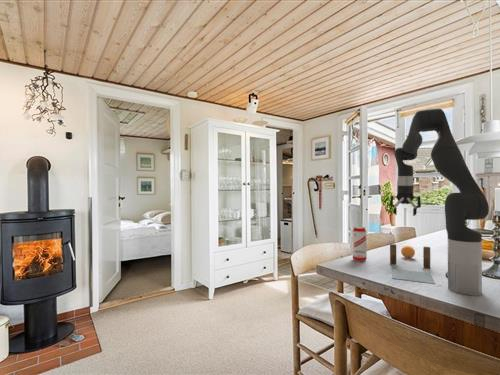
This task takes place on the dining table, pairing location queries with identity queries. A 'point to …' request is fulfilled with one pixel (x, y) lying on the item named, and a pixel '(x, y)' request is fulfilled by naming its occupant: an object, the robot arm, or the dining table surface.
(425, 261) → the right post
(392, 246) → the left post
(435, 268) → the dining table surface
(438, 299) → the dining table surface
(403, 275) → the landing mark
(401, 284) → the dining table surface
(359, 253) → the beer can
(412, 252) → the ball
